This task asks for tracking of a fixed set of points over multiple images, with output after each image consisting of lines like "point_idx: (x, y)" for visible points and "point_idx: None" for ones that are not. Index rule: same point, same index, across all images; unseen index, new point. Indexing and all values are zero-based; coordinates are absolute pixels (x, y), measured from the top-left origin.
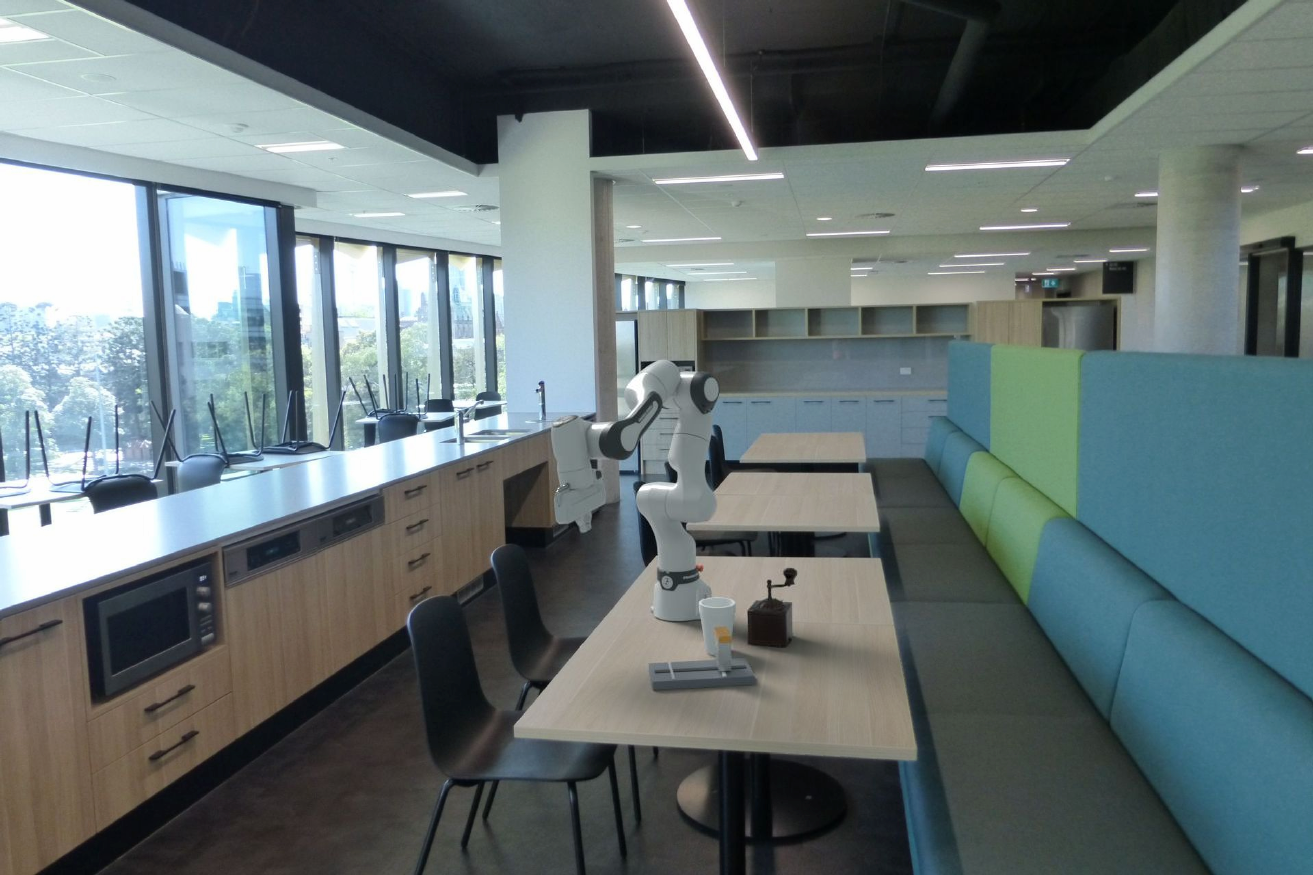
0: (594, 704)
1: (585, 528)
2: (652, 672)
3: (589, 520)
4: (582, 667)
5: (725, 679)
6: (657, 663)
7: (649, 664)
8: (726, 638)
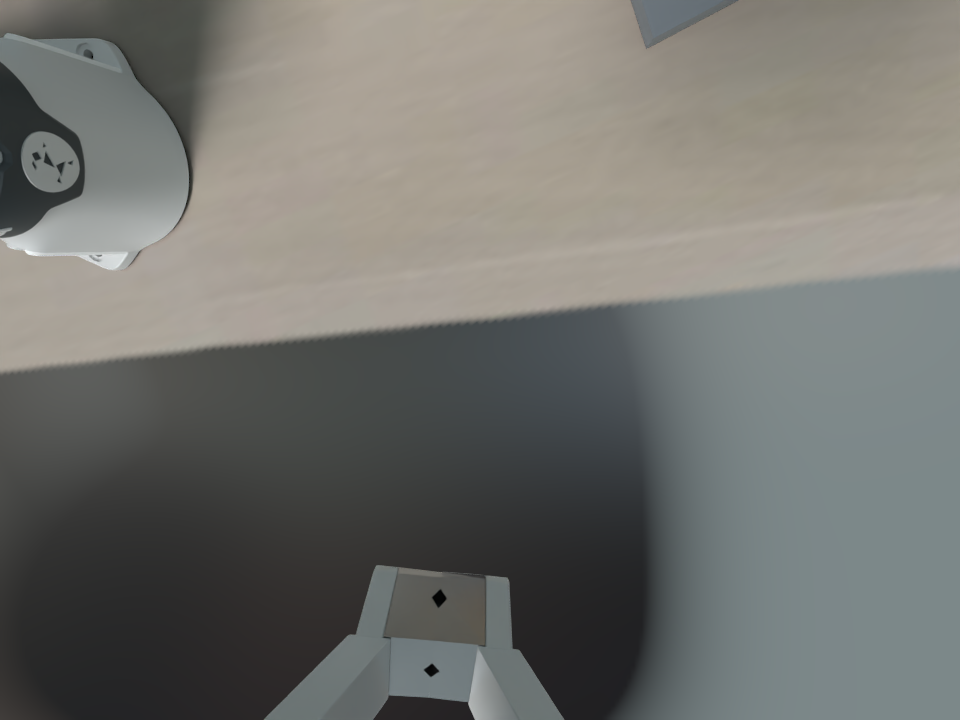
0: (955, 112)
1: (508, 610)
2: None
3: (364, 672)
4: (651, 276)
5: None
6: (650, 2)
7: (664, 30)
8: None
